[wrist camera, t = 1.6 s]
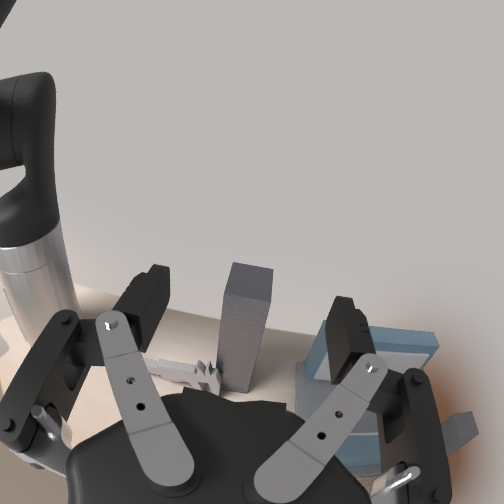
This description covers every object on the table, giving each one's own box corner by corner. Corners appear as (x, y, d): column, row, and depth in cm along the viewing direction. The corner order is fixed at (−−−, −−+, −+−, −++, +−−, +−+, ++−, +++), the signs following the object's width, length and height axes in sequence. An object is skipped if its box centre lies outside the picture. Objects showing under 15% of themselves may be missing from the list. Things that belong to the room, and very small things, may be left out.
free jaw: (305, 479, 22) (340, 451, 18) (306, 443, 26) (336, 405, 21) (430, 467, 22) (478, 433, 17) (424, 438, 26) (467, 400, 21)
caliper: (219, 393, 32) (223, 363, 29) (218, 400, 31) (221, 371, 28) (76, 346, 33) (64, 313, 30) (72, 352, 32) (59, 319, 29)
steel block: (213, 387, 32) (224, 293, 25) (221, 357, 37) (233, 262, 29) (246, 393, 32) (270, 302, 25) (251, 362, 37) (273, 269, 29)
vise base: (293, 477, 23) (323, 450, 18) (295, 365, 37) (315, 318, 32) (424, 467, 23) (471, 434, 18) (403, 373, 37) (433, 332, 32)
